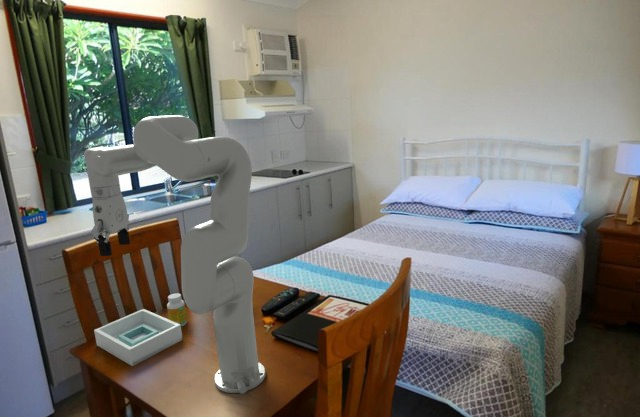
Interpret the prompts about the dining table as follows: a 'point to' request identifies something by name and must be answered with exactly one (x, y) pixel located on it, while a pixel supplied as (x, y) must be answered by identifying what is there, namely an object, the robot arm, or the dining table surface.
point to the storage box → (138, 336)
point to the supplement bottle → (176, 309)
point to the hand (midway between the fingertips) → (115, 249)
